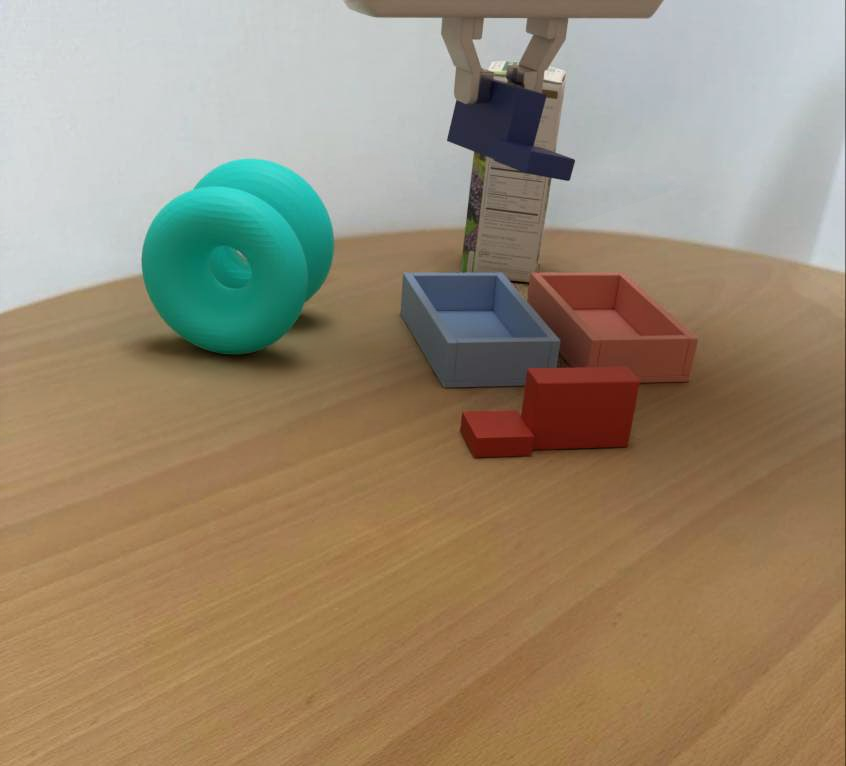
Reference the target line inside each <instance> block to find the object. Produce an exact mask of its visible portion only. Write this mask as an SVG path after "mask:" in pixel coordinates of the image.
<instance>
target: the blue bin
mask: <svg viewBox="0 0 846 766" xmlns="http://www.w3.org/2000/svg"><path fill="white" fill-rule="evenodd" d="M401 283H402V285H401V298H400V308H399V309H400V312H399V314H400V315H401V317H402V319H403V320H404V322H405V324H406V326H407V327H408V329H409V331H410V332H411V334H412V336H413V338H414V339H415V341H416V343H417V344H418V346H419V348H420V350H421V351H422V353H423V355H424V357H425V358H426V360H427V362H428V363H429V365H430V366H431V369H432V371H433V372H434V374H435V375H436V377H437V379H438V380H439V382H440V384H441V386H442V387H443V388H444V389H448V388H449V389H451V388H452V389H453V388H455V389H456V388H487V387H488V388H489V387H490V388H491V387H525V383H526V376H527V369H528V368H558V360H559V354H560V353H559V348H560V340H559V338H558V337H557V336H556V335H555V334H554V333H553V331H552V330H551V329H550V328H549V327H548V325H547V324H546V323H545V322H544V321H543V320H542V318H541V317H540V316H539V315H538V314H537V313H536V311H535V310H534V309H533V308H532V307H531V306H530V304H529V303H528V302H527V299H526V298H525V297H524V296H523V295H522V294H521V292H520V291H519V290H518V289H517V288H516V287H515V285H514V284H513V283H512V282H511V280H508V279H507V277H506V276H505V275H504V274H503V273H461V272H403V273H402V282H401Z"/></svg>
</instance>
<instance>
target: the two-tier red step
mask: <svg viewBox="0 0 846 766" xmlns="http://www.w3.org/2000/svg"><path fill="white" fill-rule="evenodd" d="M640 384H641V383H640V381H639V379H638V378H637V377H636V376H635V375H634V374H633V373H632V372H631V371H630V369H629V368H628V367H575V368H571V367H557V368H528V369H527V376H526V383H525V386H524V390H523V399H522V405H521V414H520V412H519V410H517V409H515V410H514V409H513V410H509V409H508V410H474V411H472V410H471V411H467V410H466V411H462V412H461V419H460V428H459V431H460V433H461V435H462V436H463V439H464V441H465V442H466V444H467V447H468V448H469V451H471V454H472V455H473V457H474V458H498V457H501V458H502V457H525V456H527V457H531V456H532V453H533V451H540V450H541V451H543V450H570V449H572V450H573V449H600V448H601V449H602V448H627V447H628V446H629V441H630V437H631V431H632V426H633V421H634V415H635V410H636V405H637V400H638V395H639V389H640Z"/></svg>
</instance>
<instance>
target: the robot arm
mask: <svg viewBox="0 0 846 766" xmlns="http://www.w3.org/2000/svg"><path fill="white" fill-rule="evenodd" d="M342 1H343V2H344V4H345V5H346V7H347V8H348V9H349V10H351V11H354V12H355V13H358V14H361V15H365V16H367V17H371V18H378V19H380V18H381V19H383V18H385V19H392V18H393V19H396V18H397V19H412V18H413V19H441V28H440V35H441V37H442V40H443V43H444V45H445V47H446V49H447V52H448V55H449V57H450V60H451V62H452V65H453V67H455V74H454V75H455V76H454V84H453V85H454V87H453V94H454V98H455V101H456V100H457V101H459V102H462V103H464V104H481V103H488V102H489V101H490V100H491V96H492V92H491V90H490V88H491V86H492V85H493V77H494V72H492V71H489V70H487V69H485V68H483V67H482V65H481V62H480V59H479V56H478V53H477V49H476V47H475V44H474V40H476V41H477V40H481V39H482V38H483V31H484V22H485V19H526V24H525V32H526V33H527V34H529V35H532V37H531V38H530V40H529V42H528V44H527V46H526V48H525V50H524V52H523V54H522V56H521V58H520V60H519V64H518V65H510V66H507V72H506V79H507V81H508V82H507V83H509V84H512V85H516V86H519V87H522V88H526V89H529V90H532V91H536V92H539V93H542V88H543V80H544V72H545V71H546V70H547V69H548V67H551V64H552V62H553V61H554V59H555V58H556V56H557V54H559V51H560V49H561V48H562V46H563V45H564V43H565V42H566V39H567V33H568V26H569V19H630V20H631V19H642V20H643V19H645V20H646V19H647V20H648V19H650V18H652V17H653V16H654V14H656V12H657V10H658V9H659V8H660V6H661V5H662V3H663V2H664V1H665V0H342Z"/></svg>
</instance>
